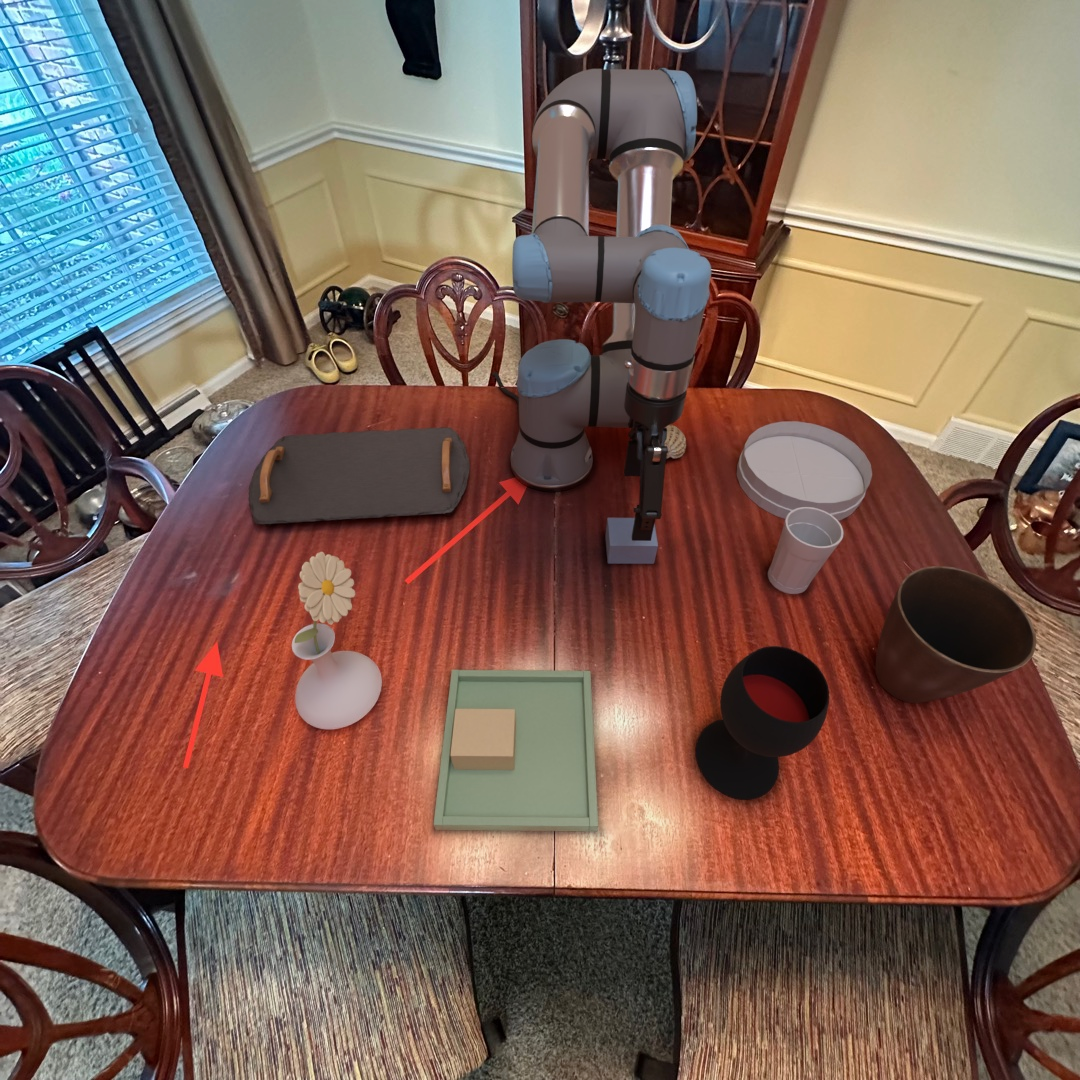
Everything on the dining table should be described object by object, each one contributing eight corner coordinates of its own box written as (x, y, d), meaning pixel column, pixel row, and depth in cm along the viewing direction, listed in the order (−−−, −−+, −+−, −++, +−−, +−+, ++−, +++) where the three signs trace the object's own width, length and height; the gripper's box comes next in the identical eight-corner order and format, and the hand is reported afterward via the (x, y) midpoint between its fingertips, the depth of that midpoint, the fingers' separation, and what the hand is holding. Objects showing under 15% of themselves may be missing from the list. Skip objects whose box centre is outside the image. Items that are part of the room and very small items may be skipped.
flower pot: (987, 698, 82) (1065, 635, 69) (914, 752, 77) (984, 694, 65) (895, 618, 90) (950, 549, 78) (824, 662, 85) (871, 595, 73)
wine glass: (686, 722, 79) (720, 642, 64) (763, 716, 80) (814, 635, 65) (707, 804, 72) (751, 736, 57) (791, 796, 73) (856, 727, 58)
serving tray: (241, 536, 101) (226, 510, 96) (270, 446, 116) (259, 421, 112) (471, 522, 103) (468, 496, 98) (470, 436, 118) (467, 410, 114)
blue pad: (607, 563, 97) (610, 545, 94) (605, 535, 101) (607, 517, 98) (654, 564, 97) (658, 545, 94) (649, 536, 101) (653, 517, 98)
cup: (816, 602, 92) (847, 551, 83) (763, 593, 93) (787, 543, 84) (812, 562, 97) (840, 511, 88) (761, 554, 98) (783, 503, 89)
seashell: (642, 449, 120) (647, 463, 111) (645, 419, 118) (650, 430, 108) (681, 451, 120) (689, 465, 110) (685, 421, 117) (693, 432, 108)
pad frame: (435, 830, 71) (433, 824, 69) (453, 676, 84) (451, 669, 82) (597, 831, 71) (598, 826, 69) (589, 677, 84) (590, 670, 82)
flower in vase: (342, 751, 77) (278, 649, 58) (280, 706, 81) (202, 598, 62) (409, 673, 84) (371, 560, 65) (349, 636, 88) (297, 519, 69)
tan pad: (454, 769, 75) (450, 755, 71) (459, 723, 79) (455, 708, 75) (514, 770, 75) (513, 756, 71) (516, 724, 79) (515, 708, 75)
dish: (742, 518, 104) (749, 498, 100) (730, 437, 118) (737, 416, 114) (875, 529, 102) (888, 509, 98) (847, 445, 116) (857, 425, 113)
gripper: (619, 332, 83) (606, 451, 99) (636, 449, 67) (617, 569, 83) (673, 333, 83) (652, 451, 99) (704, 449, 67) (672, 569, 82)
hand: (636, 505), depth 91 cm, fingers open, 13 cm apart
